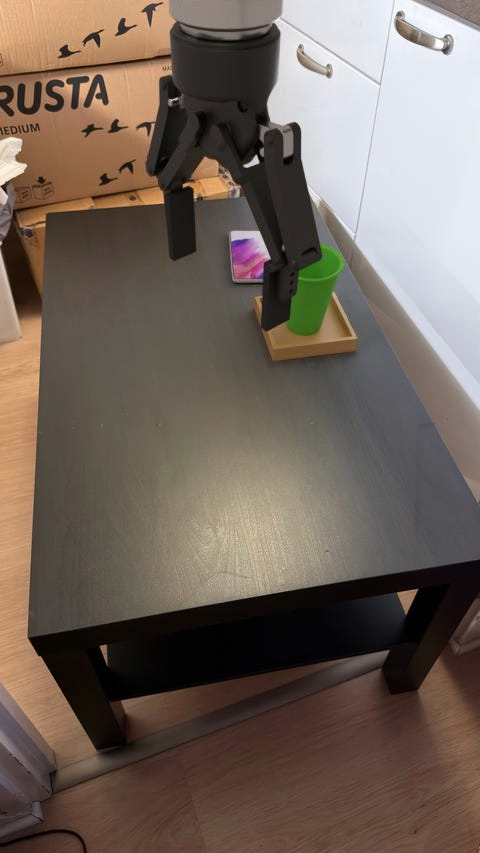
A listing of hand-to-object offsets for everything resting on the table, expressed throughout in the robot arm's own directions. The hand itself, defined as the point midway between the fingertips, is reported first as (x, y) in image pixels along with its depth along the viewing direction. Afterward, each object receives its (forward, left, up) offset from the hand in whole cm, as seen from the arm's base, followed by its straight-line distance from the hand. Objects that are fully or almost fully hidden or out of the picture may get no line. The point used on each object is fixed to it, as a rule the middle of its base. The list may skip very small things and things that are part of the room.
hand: (226, 287), depth 57 cm
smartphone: (+31, -30, -25) cm, 50 cm away
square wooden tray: (+12, -24, -25) cm, 36 cm away
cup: (+12, -24, -24) cm, 36 cm away
